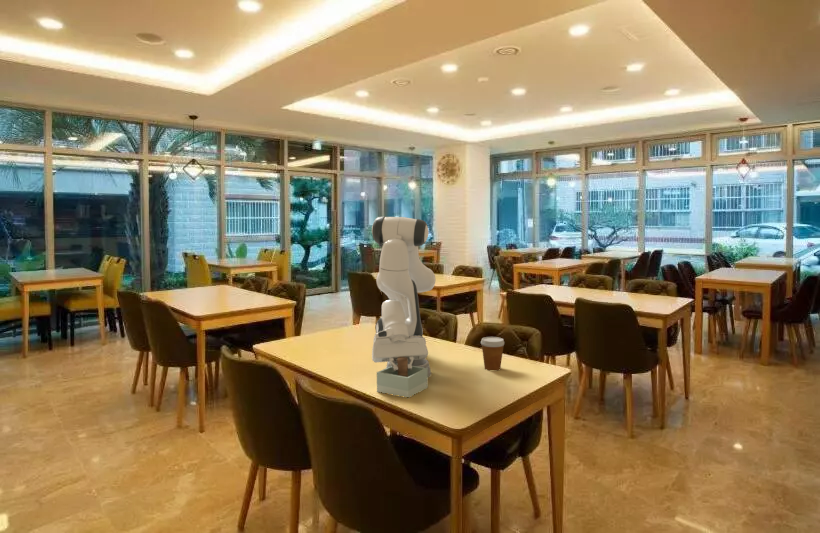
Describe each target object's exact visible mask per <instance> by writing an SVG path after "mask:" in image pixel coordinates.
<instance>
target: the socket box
mask: <svg viewBox="0 0 820 533" xmlns="http://www.w3.org/2000/svg"><path fill="white" fill-rule="evenodd" d="M395 365H397V364H395ZM428 379H429V377H428V370H427V368H422V367H416V366H412V370H409V371H408V377H404V376H398V371H396V372H394V371H393V368H392V366H390V367H388V368H386V367H385V368H383V369H380V370H379V371H376V392H377V393H381V392H382V393H381V394H385V393H388V394H387V395H390V394H393V395H392V396H395V395H399V396H398V397H400V396H404V397H409V398H411V397H413V396H415V395H417V394H418V392H419V393H420V392H422V391H423V390H426V389H428V383H429V382H428ZM416 393H417V394H416ZM414 394H415V395H414ZM412 395H413V396H412ZM410 396H411V397H410ZM404 397H403V398H404Z"/></svg>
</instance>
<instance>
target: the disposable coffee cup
mask: <svg viewBox="0 0 820 533" xmlns="http://www.w3.org/2000/svg"><path fill="white" fill-rule="evenodd" d="M505 343H506V342H505V341H504V338H501V337H497V336H486V337H482V338H481V341H480V344H481V348H482V349H481V350H482V357H483V358H482V359H483V366H484V370H486V369H487V371H490V370H497V371H499V369H500V370H501V367H502V359H503V352H504V345H505Z"/></svg>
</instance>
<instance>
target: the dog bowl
mask: <svg viewBox="0 0 820 533" xmlns="http://www.w3.org/2000/svg"><path fill="white" fill-rule="evenodd" d="M393 363H394V364H397V361H393ZM408 364H410V362H409V360H408ZM390 366H391V365H390V364H389V362H387V364H386V366H385V368H388V367H390ZM412 366H416V367H422V368H427V370H428V378H430V377H431V376H432V372H431V366H430V362H429V360H428V359H427V358H426V359H418V360H413V363H412Z"/></svg>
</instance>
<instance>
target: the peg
mask: <svg viewBox="0 0 820 533" xmlns="http://www.w3.org/2000/svg"><path fill="white" fill-rule="evenodd" d="M397 365H398V376H404V377H408V358H407V357H399V358H397Z"/></svg>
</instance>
